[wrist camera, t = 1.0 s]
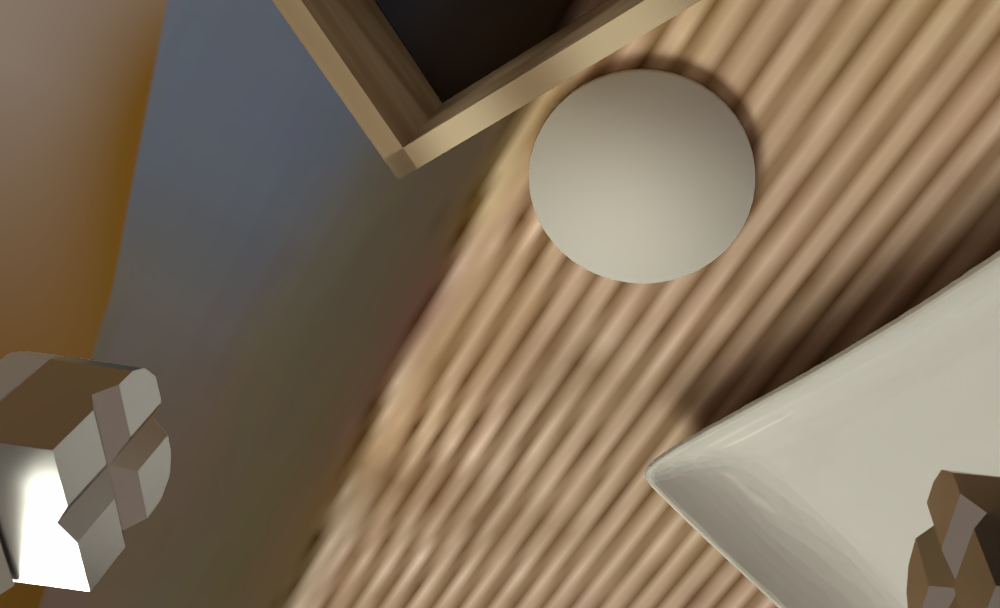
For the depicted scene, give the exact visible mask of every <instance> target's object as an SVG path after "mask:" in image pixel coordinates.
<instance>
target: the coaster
mask: <svg viewBox="0 0 1000 608" xmlns="http://www.w3.org/2000/svg"><path fill="white" fill-rule="evenodd" d="M529 187H530V195H531V199H532V203H533V207H534V210H535V212H536V215H537V217H538V220H539V222H540V223H541V225H542V227H543V229H544V231H545V232H546V234H547V235H548V236H549V238H550V239H551V240H552V242H553V243H554V244H555V245H556V246H557V247H558V248H559V249H560V250H561V251H562V252H563V253H564V254H565V255H566V256H568V257H569V258H570V259H571V260H572V261H574V262H575V263H577V264H579V265H580V266H582V267H583V268H585V269H587V270H589V271H591V272H593V273H595V274H597V275H600V276H603V277H606V278H609V279H613V280H618V281H622V282H630V283H656V282H664V281H669V280H673V279H677V278H680V277H683V276H685V275H688V274H691V273H693V272H695V271H697V270H699V269H701V268H702V267H704V266H706V265H707V264H709V263H710V262H712V261H713V260H714V259H716V258H717V257H718V256H719V255H720V254H721V253H723V252H724V251H725V250H726V249H727V248H728V247H729V245H730V244H731V243H732V242H733V241H734V240H735V238H736V237H737V235H738V234H739V232H740V231H741V229H742V227H743V226H744V224H745V221H746V219H747V217H748V215H749V212H750V209H751V205H752V202H753V197H754V190H755V165H754V158H753V152H752V149H751V145H750V142H749V139H748V137H747V134H746V132H745V130H744V128H743V126H742V124H741V123H740V121H739V120H738V118H737V116H736V115H735V113H734V112H733V111H732V110H731V109H730V108H729V106H728V105H727V104H726V103H725V102H724V101H723V100H722V99H721V98H719V97H718V96H717V95H716V94H715V93H714V92H712V91H711V90H709V89H708V88H706V87H705V86H703V85H702V84H700V83H698V82H696V81H694V80H692V79H690V78H688V77H685V76H682V75H679V74H676V73H673V72H668V71H663V70H657V69H628V70H622V71H617V72H612V73H609V74H606V75H603V76H600V77H597V78H595V79H593V80H591V81H589V82H587V83H585V84H583V85H581V86H580V87H579V88H577V89H576V90H574V91H573V92H571V93H570V94H569V95H568V96H567V97H565V98H564V99H563V100H562V101H561V102H560V103H559V104H558V105H557V107H556V108H555V109H554V110H553V111H552V112H551V114H550V115H549V117H548V118H547V120H546V122H545V123H544V125H543V126H542V128H541V130H540V133H539V135H538V137H537V139H536V141H535V144H534V148H533V151H532V154H531V160H530V166H529Z"/></svg>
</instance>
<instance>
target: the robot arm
mask: <svg viewBox="0 0 1000 608" xmlns="http://www.w3.org/2000/svg"><path fill="white" fill-rule="evenodd" d="M160 403H161V398H160V394H159V390H158V385H157V381H156V377H155V376H154V375H153V374H152V373H150V372H149V371H148V370H146V369H145V368H141V367H134V366H128V365H121V364H114V363H107V362H101V361H94V360H87V359H80V358H73V357H67V356H63V357H61V356H58V355H52V354H44V353H36V352H28V351H21V352H14V353H9V354H8V355H6V356H5V357H4V358H2V359H1V360H0V594H1V593H3V592H4V591H6V590H8V589H9V588H11V587H13V586H14V582H13V581H15V582H22V583H29V584H37V585H44V586H51V587H59V588H66V589H73V590H80V591H88V592H90V591H91V590H92V589H93V587H94V586H95V585H96V584H97V582H98V581H99V580H100V578H101V577H102V576H103V575H104V573H105V572H106V571H107V569H108V568H109V567H110V566H111V564H112V563H113V562H114V560H115V559H116V558H117V557H118V555H119V554H120V553H121V551H122V550H123V549H124V548H125V541H124V534H123V530H125V529H126V528H128V527H130V526H132V525H134V524H136V523H138V522H140V521H142V520H144V519H146V518H148V516H149V515H150V514H151V512H152V511H153V510H154V508H155V507H156V506H157V504H158V503H159V501H160V500H161V498H162V495H163V492H164V489H165V487H166V484H167V481H168V478H169V475H170V461H171V451H170V445H169V440H168V435H167V434H166V433H165V431H164V430H163V429H162V428H161V427H160V426H159V425H158V423H157V422H156V421H155V420H154V419H153V418H152V415H153V414H154V412H155V411H156V409H157V408H158V406H159V405H160ZM927 505H928V508H929V512H930V515H931V518H932V521H933V524H934V526H932V527H931V528H929V529H928V530H927V531H925V532H924V533H922V534H921V535H919V536H918V537H916V539H915V542H914V546H913V550H912V554H911V557H910V561H909V565H908V578H907V591H906V594H907V604H908V608H1000V476H993V475H984V474H975V473H967V472H958V471H950V470H941V471H940V473H939V474H938V476H937V477H936V479H935V480H934V482H933V485H932V488H931V491H930V494H929V497H928V500H927Z"/></svg>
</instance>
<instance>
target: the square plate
mask: <svg viewBox="0 0 1000 608" xmlns="http://www.w3.org/2000/svg"><path fill="white" fill-rule="evenodd" d="M941 470H950V471H958V472H967V473H975V474H984V475H993V476H1000V250H999V251H997V252H996V253H995V254H993V255H992V256H990V257H989V258H988V259H986V260H985V261H983V262H982V263H980V264H978V265H977V266H975V267H973V268H972V269H970V270H969V271H967V272H966V273H965V274H963V275H962V276H961V277H960V278H958V279H956V280H955V281H953V282H951V283H950V284H948V285H947V286H945V287H944V288H942V289H941V290H940V291H938V292H937V293H935V294H934V295H932V296H930V297H929V298H927V299H926V300H924V301H923V302H921V303H920V304H918V305H917V306H915V307H913V308H912V309H910V310H908V311H907V312H905V313H904V314H902V315H901V316H899V317H898V318H896V319H895V320H893V321H891V322H889V323H888V324H886V325H884V326H882V327H881V328H879V329H877V330H876V331H874V332H872V333H871V334H869V335H867V336H866V337H864V338H862V339H861V340H859V341H857V342H856V343H854V344H852V345H851V346H849V347H848V348H846V349H844V350H842V351H841V352H839V353H837V354H835V355H834V356H832V357H831V358H829V359H827V360H826V361H824V362H822V363H820V364H818V365H817V366H815V367H813V368H812V369H810V370H809V371H807V372H805V373H803V374H801V375H799V376H797V377H796V378H794V379H792V380H790V381H788V382H787V383H785V384H783V385H781V386H780V387H778V388H776V389H774V390H773V391H771V392H769V393H767V394H765V395H764V396H762V397H760V398H758V399H756V400H754V401H752V402H750V403H748V404H747V405H745V406H743V407H742V408H740V409H739V410H737V411H735V412H733V413H731V414H729V415H727V416H726V417H724V418H722V419H721V420H719V421H717V422H715V423H713V424H711V425H709V426H708V427H706V428H704V429H702V430H701V431H699V432H697V433H696V434H694V435H692V436H690V437H688V438H686V439H684V440H683V441H681V442H680V443H678V444H677V445H675V446H674V447H672V448H671V449H669V450H667V451H666V452H664V453H663V454H661V455H660V456H659V457H657V458H656V459H654V460H653V461H652V462H651V463H650V464H649V465H648V467H647V468H646V469H645V477H646V479H647V481H648V482H649V484H650V485H651V487H652V488H653V489H654V490H655V491H656V492H657V493H658V494H659V495H660V496H661V497H662V498H663V499H664V500H665V501H667V502H668V503H669V504H670V505H671V506H672V507H673V508H674V509H675V510H676V511H677V512H678V513H679V514H680V515H681V516H682V517H683V518H684V519H685V520H686V521H687V522H688V523H689V524H690V525H691V526H692V527H693V528H694V529H695V530H696V531H697V532H698V533H699V534H700V535H702V536H703V537H704V538H705V539H706V540H707V541H708V542H709V543H710V544H711V545H712V546H713V547H714V548H715V549H716V550H718V551H719V552H720V553H721V554H722V555H723V556H724V557H725V558H726V559H727V560H728V561H729V562H730V563H731V564H733V565H734V566H735V567H736V568H737V569H738V570H739V571H740V572H741V573H742V574H743V575H744V576H745V577H746V578H748V579H749V580H750V581H751V582H752V583H753V584H754V585H755V586H756V587H757V588H758V589H759V590H760V591H761V592H763V593H764V594H765V595H766V596H767V597H768V598H769V599H770V600H771V601H772V602H773V603H774V604H775V605H776V606H777V607H778V608H908V604H907V594H906V591H907V578H908V565H909V561H910V557H911V554H912V550H913V546H914V542H915V539H916V537H918V536H919V535H921V534H922V533H924V532H925V531H927V530H928V529H929V528H931V527H932V526H934V524H933V521H932V518H931V515H930V512H929V508H928V505H927V500H928V497H929V494H930V491H931V488H932V485H933V482H934V480H935V479H936V477H937V476H938V474H939V473H940V471H941Z"/></svg>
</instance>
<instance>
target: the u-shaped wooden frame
mask: <svg viewBox="0 0 1000 608" xmlns="http://www.w3.org/2000/svg"><path fill="white" fill-rule="evenodd" d="M272 1H273V2H274V3H275V5H276V6H277V8H278V9H279V11H280V12H281V13H282V15H283V16H284V18H285V19H286V21H287V22H288V23H289V25H290V26H291V28H292V29H293V31H294V32H295V33H296V35H297V36H298V38H299V39H300V41H301V42H302V43H303V45H304V46H305V48H306V49H307V51H308V52H309V53H310V55H311V56H312V58H313V59H314V61H315V62H316V63H317V65H318V66H319V68H320V69H321V71H322V72H323V73H324V75H325V76H326V78H327V79H328V81H329V82H330V83H331V85H332V86H333V88H334V89H335V90H336V92H337V93H338V95H339V96H340V98H341V99H342V100H343V102H344V103H345V105H346V106H347V108H348V109H349V110H350V112H351V113H352V115H353V116H354V118H355V119H356V120H357V122H358V123H359V125H360V126H361V128H362V129H363V130H364V132H365V133H366V135H367V136H368V138H369V139H370V140H371V142H372V143H373V145H374V146H375V148H376V149H377V150H378V152H379V153H380V155H381V156H382V158H383V159H384V160H385V162H386V163H387V165H388V166H389V168H390V169H391V170H392V172H393V173H394V175H395V176H396V178H397V179H398V180H399V179H400V178H402V177H404V176H405V175H407V174H409V173H410V172H412V171H414V170H416V169H417V168H419V167H421V166H422V165H424V164H426V163H427V162H429V161H431V160H432V159H434V158H436V157H437V156H439V155H441V154H443V153H444V152H446V151H448V150H449V149H451V148H453V147H454V146H456V145H458V144H459V143H461V142H463V141H464V140H466V139H468V138H470V137H471V136H473V135H475V134H476V133H478V132H480V131H481V130H483V129H485V128H486V127H488V126H490V125H492V124H493V123H495V122H497V121H498V120H500V119H502V118H503V117H505V116H507V115H508V114H510V113H512V112H513V111H515V110H517V109H519V108H520V107H522V106H524V105H525V104H527V103H529V102H530V101H532V100H534V99H535V98H537V97H539V96H540V95H542V94H544V93H546V92H547V91H549V90H551V89H552V88H554V87H556V86H557V85H559V84H561V83H562V82H564V81H566V80H567V79H569V78H571V77H573V76H574V75H576V74H578V73H579V72H581V71H583V70H584V69H586V68H588V67H589V66H591V65H593V64H594V63H596V62H598V61H600V60H601V59H603V58H605V57H606V56H608V55H610V54H611V53H613V52H615V51H616V50H618V49H620V48H621V47H623V46H625V45H627V44H628V43H630V42H632V41H633V40H635V39H637V38H638V37H640V36H642V35H643V34H645V33H647V32H648V31H650V30H652V29H654V28H655V27H657V26H659V25H660V24H662V23H664V22H665V21H667V20H669V19H670V18H672V17H674V16H676V15H677V14H679V13H681V12H682V11H684V10H686V9H687V8H689V7H691V6H692V5H694V4H696V3H697V2H699V1H701V0H607V1H606V2H604V3H602V4H601V5H599V6H598V7H596V8H594V9H593V10H591V11H590V12H588V13H586V14H585V15H583V16H582V17H580V18H578V19H577V20H575V21H573V22H572V23H570V24H569V25H567V26H565V27H564V28H562V29H561V30H559V31H557V32H556V33H554V34H553V35H551V36H549V37H548V38H546V39H545V40H543V41H541V42H540V43H538V44H536V45H535V46H533V47H532V48H530V49H528V50H527V51H525V52H524V53H522V54H520V55H519V56H517V57H516V58H514V59H512V60H511V61H509V62H508V63H506V64H504V65H503V66H501V67H499V68H498V69H496V70H495V71H493V72H491V73H490V74H488V75H487V76H485V77H483V78H482V79H480V80H479V81H477V82H475V83H474V84H472V85H471V86H469V87H467V88H466V89H464V90H463V91H461V92H459V93H458V94H456V95H454V96H453V97H451V98H450V99H448V100H446V101H445V102H443V103H442V102H441V101H440V99H439V98H438V96H437V95H436V93H435V92H434V90H433V89H432V87H431V86H430V84H429V83H428V81H427V80H426V78H425V77H424V75H423V74H422V72H421V71H420V69H419V67H418V66H417V64H416V63H415V61H414V60H413V58H412V57H411V55H410V54H409V52H408V51H407V49H406V48H405V46H404V45H403V43H402V42H401V40H400V39H399V37H398V36H397V34H396V33H395V31H394V30H393V28H392V27H391V25H390V24H389V22H388V21H387V19H386V18H385V16H384V15H383V13H382V12H381V10H380V9H379V7H378V6H377V4H376V3H375V1H374V0H272Z"/></svg>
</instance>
